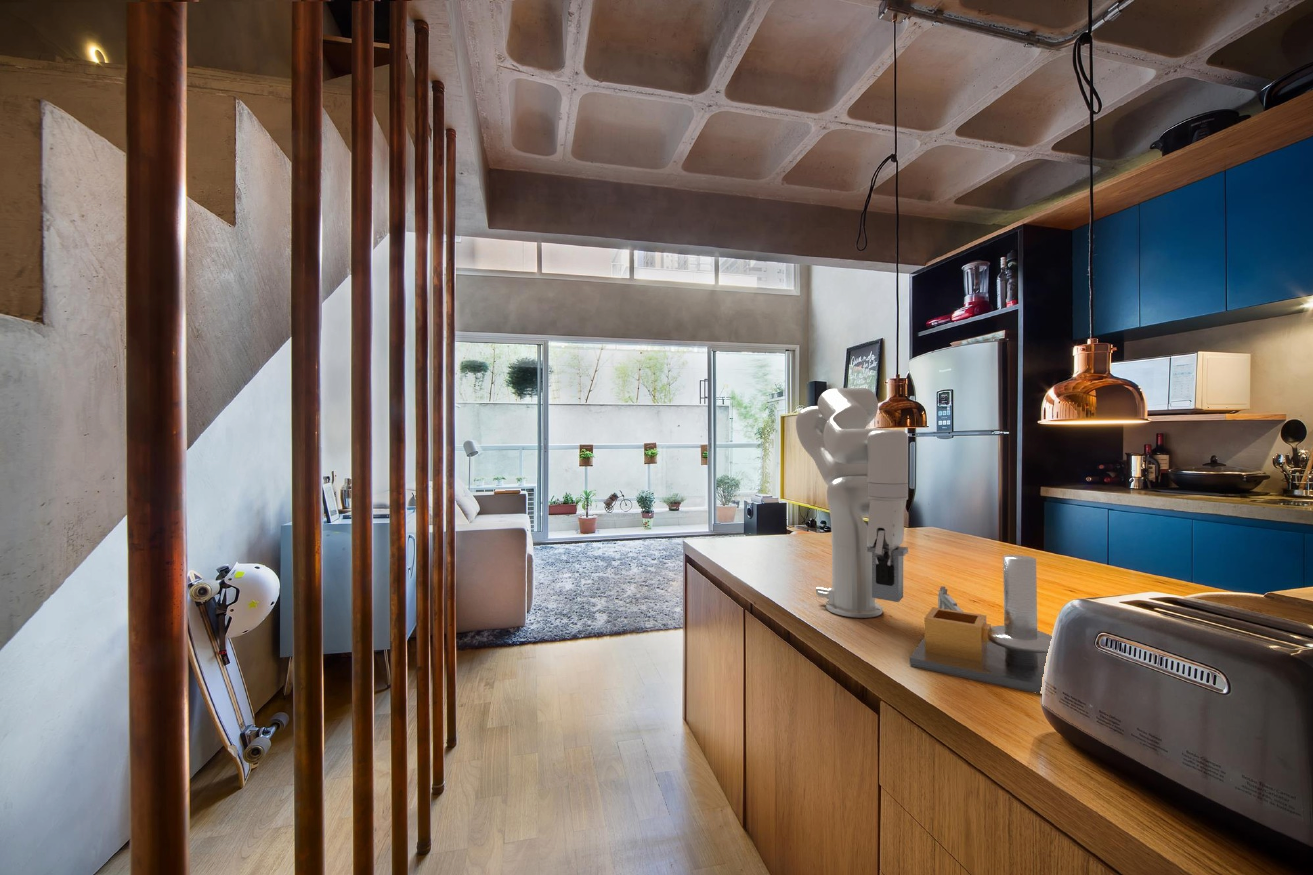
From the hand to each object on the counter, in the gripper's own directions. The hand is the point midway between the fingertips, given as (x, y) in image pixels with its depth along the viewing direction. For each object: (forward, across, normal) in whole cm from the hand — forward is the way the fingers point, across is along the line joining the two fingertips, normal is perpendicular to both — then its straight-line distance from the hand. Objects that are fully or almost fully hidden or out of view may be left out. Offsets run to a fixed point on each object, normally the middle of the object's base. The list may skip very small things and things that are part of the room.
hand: (887, 580), depth 110 cm
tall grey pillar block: (+3, 0, 0) cm, 3 cm away
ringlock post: (+11, +3, +17) cm, 20 cm away
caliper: (+12, -18, +11) cm, 24 cm away
